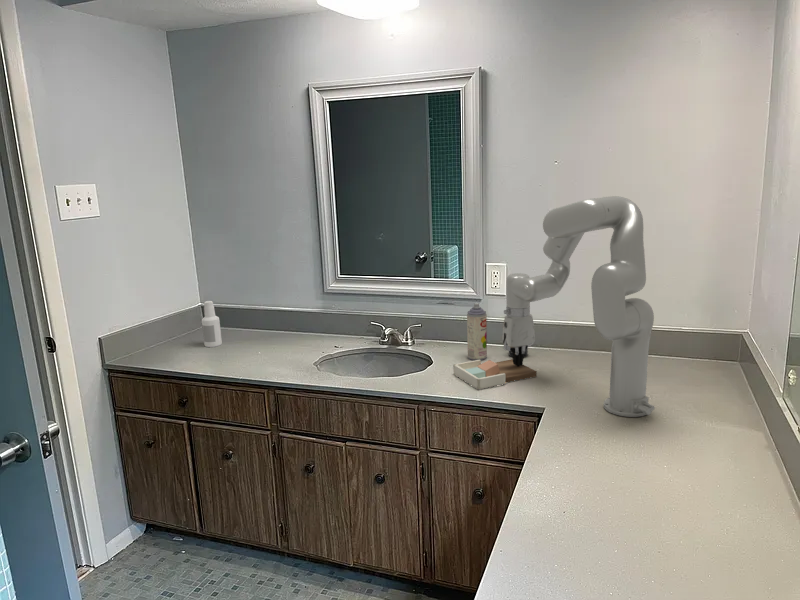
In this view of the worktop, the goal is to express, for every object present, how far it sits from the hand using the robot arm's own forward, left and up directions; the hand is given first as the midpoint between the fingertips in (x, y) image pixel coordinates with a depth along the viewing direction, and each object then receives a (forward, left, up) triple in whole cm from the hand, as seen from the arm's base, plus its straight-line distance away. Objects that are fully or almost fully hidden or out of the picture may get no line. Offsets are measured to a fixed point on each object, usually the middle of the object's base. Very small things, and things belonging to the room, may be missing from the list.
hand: (517, 364), depth 205 cm
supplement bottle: (+14, -9, -3) cm, 17 cm away
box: (0, +15, -2) cm, 15 cm away
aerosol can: (+19, +5, -3) cm, 20 cm away
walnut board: (0, +4, -2) cm, 4 cm away
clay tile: (0, +11, -1) cm, 11 cm away
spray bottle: (+86, +89, -3) cm, 123 cm away
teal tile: (0, +17, -2) cm, 17 cm away
